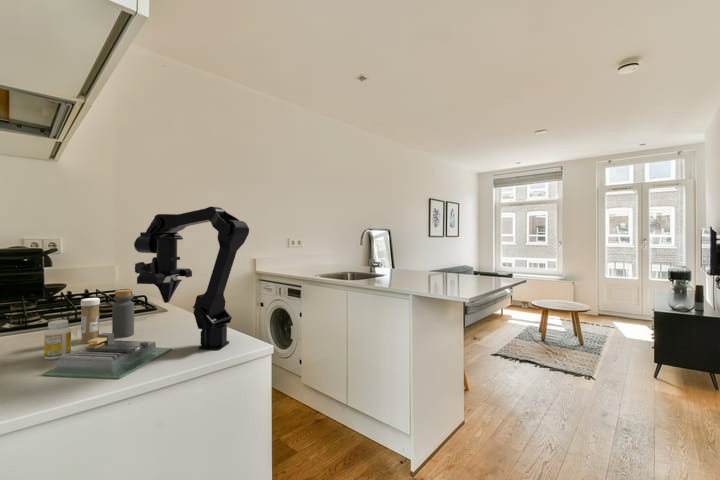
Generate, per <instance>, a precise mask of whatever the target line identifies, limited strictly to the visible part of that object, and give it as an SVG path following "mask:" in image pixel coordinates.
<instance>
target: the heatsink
mask: <svg viewBox="0 0 720 480" xmlns="http://www.w3.org/2000/svg"><path fill="white" fill-rule="evenodd" d="M111 345H132V346H142V345H143V346H144V348H143V349H141V350H139V351H137V352H135V348H128V349H127V352H110V351H87V350H86V348H84V349H83V350H81V351H71V353H67V354H66V355H62V356H60V358H59V359H57V367H54V368H52V369H50V370H47V371H44V372H43V376H50V377H71V378H72V377H75V378H93V379H95V378H96V379H115V380H116V379H117V380H119V379H122V378H124V377H126V376H127V375H129V374H131V373H133V372H135V371H136V370H138V369H140V368H142V367H144V366H145V365H147V364H149V363H151V362H152V361H155V360H157V359H158V358H160V357H162V356H164V355H166V354H167V353H169V352H171V351H172V350H173V348H172V347H158V346H156V341H148V340H144V341H143V340H141V341H140V340H118V339H116V340H115V339H114V343H113V344H111Z"/></svg>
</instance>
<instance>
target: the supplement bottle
mask: <svg viewBox="0 0 720 480" xmlns="http://www.w3.org/2000/svg"><path fill="white" fill-rule="evenodd" d="M47 327H48V329H47V330H46V331H45V332H44V339H43V340H44V345H43V347H44V353H43V356H44V357H43V358H44V359H45V360H59V359H60V356H62V355H66V354H67V353H71V352H72V329H71V327H69V320H68V319H56V320H52V321H48V324H47Z"/></svg>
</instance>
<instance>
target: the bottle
mask: <svg viewBox="0 0 720 480" xmlns="http://www.w3.org/2000/svg"><path fill="white" fill-rule="evenodd" d="M132 292H133V289H130V288H129V289H128V288H127V289H125V288H124V289H117V290H115V291H114V294H115V296H114V297H113V300H114V301H115V303H113V304H112V313H111V316H112V317H111V319H112V320H111V328H112V329H111V331H112V332H111V333H114V339H123V338H128V337H131V336H133V335H134V334H135V302H134V301H132V299H133V298H134V295H133V294H132Z"/></svg>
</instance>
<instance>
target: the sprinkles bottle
mask: <svg viewBox="0 0 720 480" xmlns="http://www.w3.org/2000/svg"><path fill="white" fill-rule="evenodd" d="M100 304H101V299H100V298H99V297H88V298H82V299H81V300H80V307H81V316H80V319H81V321H80V333H81V339H80V344H81V343H82V344H83V345H84V344H89V343H88V341H89V340H92V339H94V338H97V337H98V335H99V334H100Z"/></svg>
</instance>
